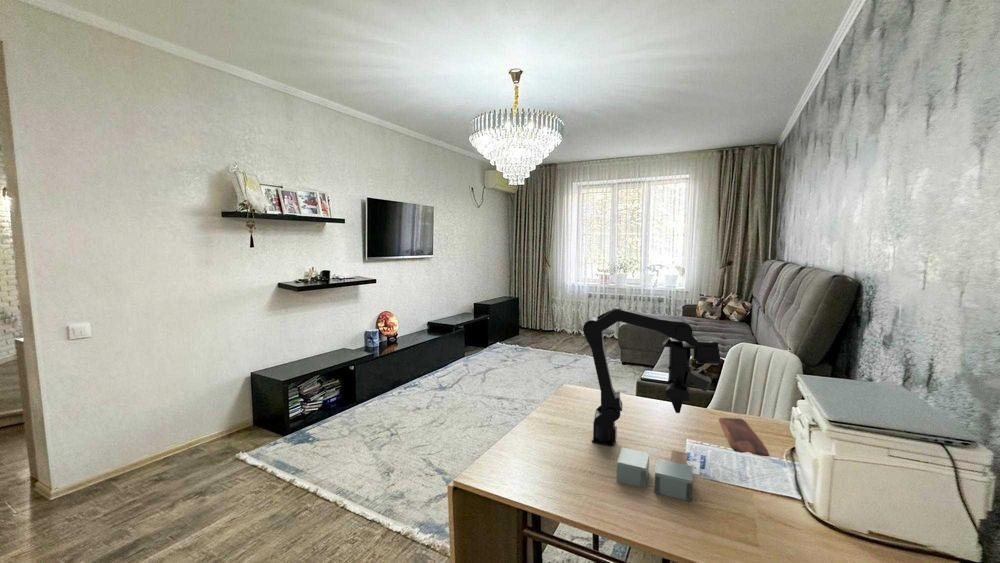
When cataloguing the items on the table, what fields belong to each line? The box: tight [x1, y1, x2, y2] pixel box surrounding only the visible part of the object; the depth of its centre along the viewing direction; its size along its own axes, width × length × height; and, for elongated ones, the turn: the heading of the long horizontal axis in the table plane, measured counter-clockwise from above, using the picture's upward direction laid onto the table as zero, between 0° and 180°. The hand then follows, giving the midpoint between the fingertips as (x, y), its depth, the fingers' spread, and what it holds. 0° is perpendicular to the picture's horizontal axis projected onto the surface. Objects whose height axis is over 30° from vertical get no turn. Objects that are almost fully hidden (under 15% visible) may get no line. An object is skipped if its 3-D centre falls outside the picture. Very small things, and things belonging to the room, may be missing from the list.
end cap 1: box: [616, 447, 650, 489], centre depth 107 cm, size 8×7×5 cm
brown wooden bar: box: [670, 449, 688, 465], centre depth 107 cm, size 4×16×4 cm, turn 155°
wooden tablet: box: [718, 417, 770, 457], centre depth 131 cm, size 26×2×10 cm
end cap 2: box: [654, 458, 693, 503], centre depth 101 cm, size 8×7×5 cm
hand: (677, 412), depth 120 cm, fingers closed
